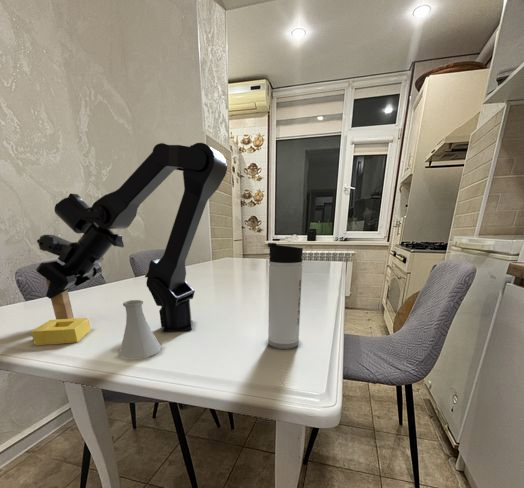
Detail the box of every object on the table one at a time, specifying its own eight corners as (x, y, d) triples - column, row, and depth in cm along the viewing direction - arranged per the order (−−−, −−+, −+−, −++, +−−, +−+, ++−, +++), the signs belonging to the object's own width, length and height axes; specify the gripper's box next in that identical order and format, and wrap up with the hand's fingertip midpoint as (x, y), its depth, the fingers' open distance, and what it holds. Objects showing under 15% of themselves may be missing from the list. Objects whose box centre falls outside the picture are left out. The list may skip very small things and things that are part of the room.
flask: (147, 362, 52) (139, 308, 48) (111, 358, 53) (101, 305, 50) (167, 346, 59) (161, 298, 55) (135, 344, 60) (127, 296, 56)
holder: (91, 329, 68) (88, 317, 67) (77, 342, 61) (74, 329, 60) (53, 332, 67) (49, 319, 66) (34, 345, 59) (30, 331, 58)
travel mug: (262, 340, 62) (262, 242, 55) (289, 336, 64) (292, 241, 57) (274, 351, 56) (276, 244, 49) (304, 346, 59) (310, 243, 52)
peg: (74, 321, 74) (62, 269, 70) (69, 324, 72) (56, 271, 67) (63, 321, 74) (50, 269, 70) (57, 324, 72) (43, 271, 67)
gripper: (79, 222, 74) (44, 266, 77) (33, 220, 56) (-10, 278, 59) (117, 253, 77) (82, 295, 80) (85, 261, 60) (42, 314, 63)
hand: (53, 295), depth 70 cm, fingers open, 4 cm apart
